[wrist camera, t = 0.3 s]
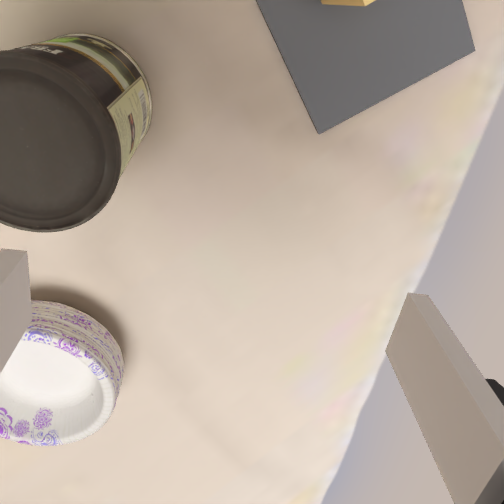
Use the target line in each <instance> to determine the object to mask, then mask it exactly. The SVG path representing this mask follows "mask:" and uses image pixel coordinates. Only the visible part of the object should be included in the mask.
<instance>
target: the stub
mask: <svg viewBox="0 0 504 504" xmlns="http://www.w3.org/2000/svg"><path fill="white" fill-rule="evenodd" d="M374 1H375V0H321V3H322V4H328V5H348V6H367V5H368V4H370V3H372V2H374Z"/></svg>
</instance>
